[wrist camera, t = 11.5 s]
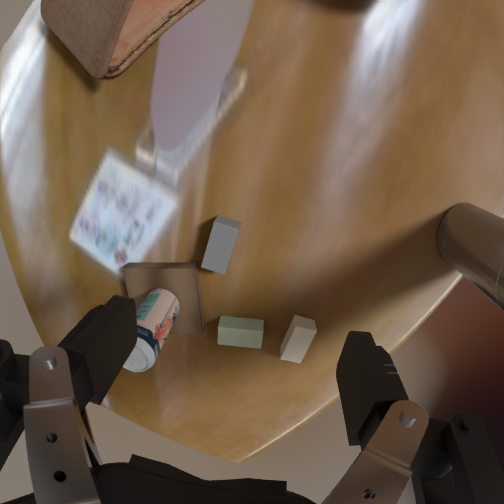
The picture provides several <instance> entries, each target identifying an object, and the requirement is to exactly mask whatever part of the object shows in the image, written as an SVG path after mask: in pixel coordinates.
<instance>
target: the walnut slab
mask: <svg viewBox="0 0 504 504" xmlns="http://www.w3.org/2000/svg"><path fill="white" fill-rule="evenodd" d="M123 272H124V277H125V282H126V287H127V291H128V296H129V298H133V299H134V301H135V305H136V311H137V310H138V309H139V307H140V306H141V304H142V303H143V302H144V300H145V299H146V297H147V295H148V294H149V292H150V291H152V290H154V289H158V288H160V289H166V290H168V291H170V292H171V293H173V294H174V295H175V296H176V298H177V299H178V301H179V305H180V310H179V313H178V315H177V317H176V319H175V321H174V323H173V325H172V327H171V329H170V331H169V333H177V334H198V335H202V334H203V331H204V328H205V323H204V316H203V308H202V299H201V291H200V282H199V273H198V263H128V264H127V265H126V266H125V267H124V268H123Z"/></svg>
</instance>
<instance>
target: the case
mask: <svg viewBox="0 0 504 504" xmlns="http://www.w3.org/2000/svg"><path fill="white" fill-rule="evenodd" d="M204 1H205V0H41V15H42V18H43V20H44V22H45V23H46V24H47V25H48V26H49V28H50V29H51V30H52V31H53V32H54V33H55V34H56V35H57V37H58V38H59V39H60V40H61V41H62V42H63V43H64V45H65V46H66V47H67V48H68V49H69V50H70V52H71V53H72V54H73V55H74V56H75V57H76V58H77V60H78V61H79V62H80V63H81V64H82V66H83V67H84V68H85V69H86V70H87V71H88V73H89V74H90V75H91V76H93V77H94V78H98V79H99V78H103V77H104V76H107V77H114V76H117V75H119V74H121V73H122V72H123V71H124V70H125V69H127V68H128V67H129V66H130V65H131V64H132V63H133V62H134V61H135V60H136V59H137V58H138V57H139V56H140V55H141V54H142V53H143V52H144V51H145V50H146V49H147V48H148V47H149V46H150V45H151V44H152V43H154V42H155V41H156V40H157V39H158V38H159V37H160V36H161V35H162V34H163V33H164V32H165V31H167V30H168V29H169V28H170V27H171V26H173V25H174V24H175V23H176V22H177V21H179V20H180V19H181V18H182V17H184V16H185V15H186V14H187V13H189V12H190V11H191V10H193V9H194V8H195V7H197V6H198V5H200V4H201V3H202V2H204Z"/></svg>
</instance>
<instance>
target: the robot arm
mask: <svg viewBox="0 0 504 504" xmlns="http://www.w3.org/2000/svg"><path fill="white" fill-rule="evenodd" d="M437 243H438V249H439V252H440V254H441V256H442V257H443V258H444V259H445V260H446V261H447V262H448V263H449V264H451V265H452V266H453V267H454V268H455V269H457V270H458V271H459V272H460V273H461V274H462V275H464V276H465V277H466V278H467V279H468V280H469V281H471V282H472V283H473V284H474V285H475V286H476V287H477V288H479V289H480V290H481V291H482V292H483V293H484V294H485V295H487V297H489V298H490V299H491V300H492V301H493V302H494V303H495V304H496V305H497V306H498V307H499V308H501V309H502V310H503V311H504V219H503V218H501V217H499V216H497V215H495V214H492V213H490V212H488V211H486V210H484V209H482V208H479V207H477V206H475V205H472V204H469V203H461V204H457V205H456V206H454V207H452V208H451V209H450V210H449V211H448V212H447V213H446V215H445V216H444V218H443V220H442V221H441V224H440V227H439V230H438V236H437ZM137 338H138V329H137V318H136V305H135V301H134V299H133V298H128V297H123V296H119V295H114V296H113V297H112V298H111V299H110V300H109V301H108V302H107V303H106V304H105V305H99V306H97V307H95V308H94V309H92V310H90V311H89V312H88V313H87V314H86V315H85V316H84V317H83V319H81V320H80V322H79V323H78V324H77V326H75V327H74V328H73V329H72V330H71V331H70V332H69V333H68V334H67V336H66V337H65V338H64V339H63V340H62V341H61V342H60V343H59V344H58V345H57V346H52V345H50V346H44V347H41V348H39V349H37V350H36V351H34V352H33V354H32V355H31V356H28V355H20V354H14V352H13V349H12V347H11V344H10V343H9V342H8V341H6V340H1V339H0V471H1V469H2V467H3V465H4V464H5V462H6V460H7V458H8V456H9V455H10V453H11V451H12V449H13V447H14V446H15V444H16V442H17V440H18V439H19V437H20V435H21V434H22V432H23V430H24V429H25V438H26V447H27V455H28V462H29V469H30V474H31V480H32V485H33V490H34V492H33V493H31V494H28V495H25V496H22V497H20V498H17V499H14V500H11V501H8V502H5V503H1V504H316V503H314V502H313V501H311V500H309V499H308V498H306V497H304V496H301V495H299V494H296V493H294V492H290V491H287V490H286V484H287V482H286V481H276V480H262V479H252V478H244V479H231V480H212V481H209V480H203V479H200V478H198V477H196V476H193V475H191V474H189V473H186V472H184V471H182V470H180V469H178V468H176V467H173V466H171V465H169V464H166V463H162V462H159V461H155V460H151V459H148V458H144V457H141V456H137V455H134V454H132V457H131V459H130V461H129V463H126V462H119V463H118V462H117V463H108V464H103V463H102V460H101V458H100V456H99V453H98V450H97V447H96V444H95V441H94V437H93V433H92V430H91V426H90V423H89V419H88V415H87V411H86V408H85V407H86V405H87V403H88V402H92V403H95V404H98V405H100V404H101V402H102V401H103V399H104V397H105V396H106V394H107V392H108V390H109V389H110V387H111V385H112V384H113V382H114V380H115V379H116V377H117V375H118V374H119V372H120V370H121V369H122V367H123V365H124V364H125V362H126V361H127V359H128V357H129V356H130V354H131V352H132V351H133V349H134V348H135V345H136V343H137ZM336 378H337V383H338V388H339V393H340V398H341V403H342V409H343V414H344V419H345V424H346V430H347V435H348V441H349V446H353V445H360V446H361V452H360V454H359V455H358V457H357V458H356V459H355V461H354V462H353V464H352V465H351V466H350V468H349V469H348V471H347V472H346V473H345V475H344V476H343V477H342V479H341V480H340V481H339V483H338V484H337V485H336V486H335V488H334V489H333V490H332V491H331V493H330V494H329V495H328V496H327V497H326V498H325V500H324V501H323V502H322V503H321V504H397V502H398V500H399V499H400V497H401V495H402V493H403V491H404V489H405V487H406V485H407V483H408V481H409V479H410V477H412V482H413V488H414V493H415V498H416V504H504V476H503V473H502V471H501V468H500V465H499V463H498V460H497V458H496V455H495V453H494V451H493V448H492V446H491V443H490V441H489V439H488V436H487V434H486V432H485V430H484V427H483V425H482V423H481V421H480V420H479V419H478V418H477V417H476V416H475V415H473V414H471V413H469V412H464V411H460V412H457V413H455V414H454V415H453V416H452V417H451V419H450V420H449V421H442V420H437V419H431V418H429V417H428V414H427V412H426V411H425V409H424V408H423V407H422V406H420V405H419V404H417V403H415V402H413V401H409V399H408V396H407V394H406V391H405V389H404V387H403V384H402V382H401V379H400V377H399V375H398V374H397V370H396V368H395V366H394V364H393V361H392V359H391V357H390V355H389V354H388V353H387V352H386V351H385V350H384V349H383V348H382V347H381V346H376V344H375V342H374V340H373V337H372V335H371V333H370V332H361V331H350V332H349V333H348V335H347V338H346V341H345V344H344V347H343V350H342V352H341V355H340V358H339V361H338V364H337V369H336ZM452 468H453V470H454V474H455V477H456V481H457V485H458V490H457V493H456V490H455V486H454V482H453V479H452V475H451V472H450V470H451V469H452Z"/></svg>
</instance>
